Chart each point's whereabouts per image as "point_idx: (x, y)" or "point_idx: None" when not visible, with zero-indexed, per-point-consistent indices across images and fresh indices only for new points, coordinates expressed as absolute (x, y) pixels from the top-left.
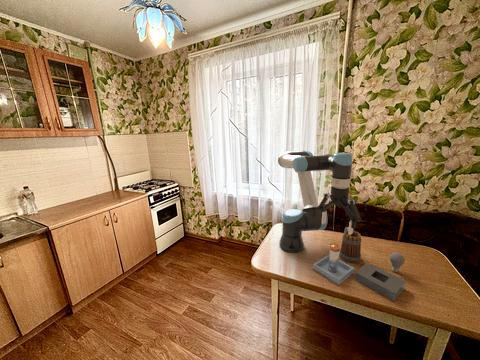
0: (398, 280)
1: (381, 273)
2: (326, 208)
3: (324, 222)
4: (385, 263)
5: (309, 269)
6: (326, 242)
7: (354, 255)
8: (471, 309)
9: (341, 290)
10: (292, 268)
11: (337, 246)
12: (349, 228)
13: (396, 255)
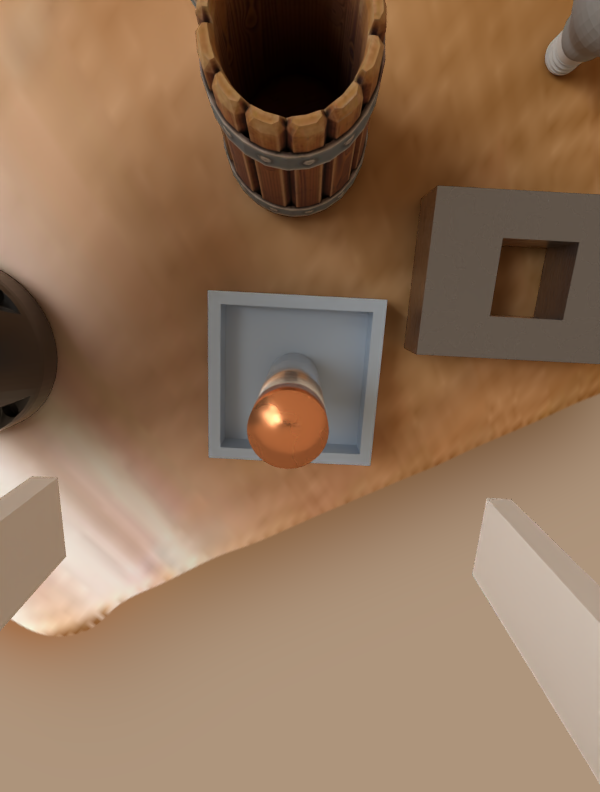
0: None
1: (534, 239)
2: None
3: (51, 529)
4: (495, 7)
5: (205, 457)
6: (76, 80)
7: (346, 176)
8: None
9: (388, 469)
10: (146, 516)
11: (309, 425)
12: (538, 661)
13: None
